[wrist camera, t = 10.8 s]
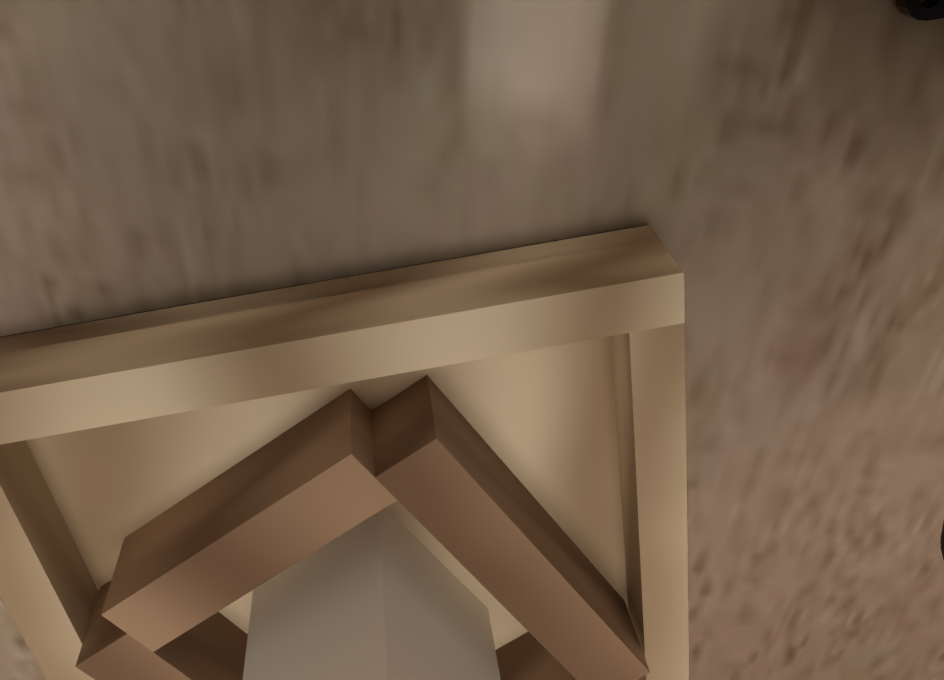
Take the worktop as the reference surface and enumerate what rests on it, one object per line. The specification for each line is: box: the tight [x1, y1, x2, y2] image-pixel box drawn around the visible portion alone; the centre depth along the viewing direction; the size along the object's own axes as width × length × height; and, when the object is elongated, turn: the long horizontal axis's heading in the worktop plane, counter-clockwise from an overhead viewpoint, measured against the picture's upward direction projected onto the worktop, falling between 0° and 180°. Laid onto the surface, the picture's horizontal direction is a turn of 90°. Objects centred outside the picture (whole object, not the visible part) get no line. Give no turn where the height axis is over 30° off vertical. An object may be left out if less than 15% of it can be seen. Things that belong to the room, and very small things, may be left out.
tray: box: [0, 225, 689, 680], centre depth 24 cm, size 16×18×3 cm
